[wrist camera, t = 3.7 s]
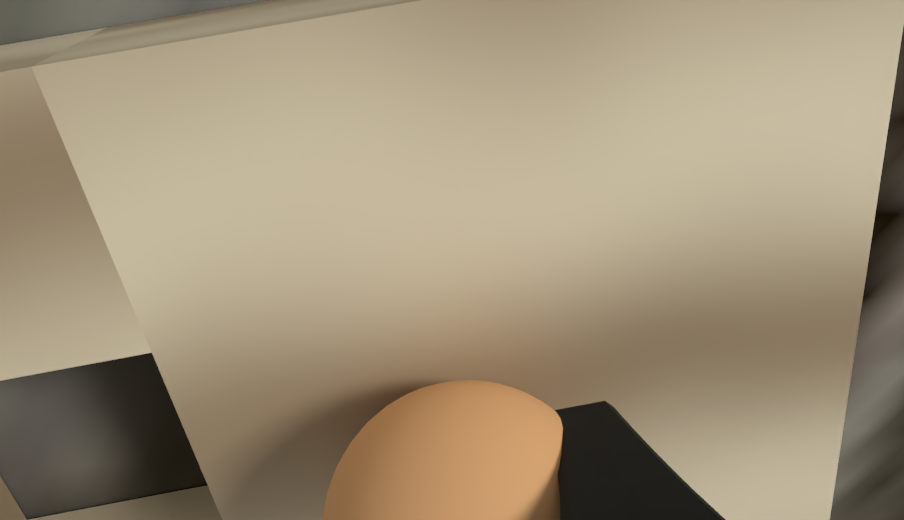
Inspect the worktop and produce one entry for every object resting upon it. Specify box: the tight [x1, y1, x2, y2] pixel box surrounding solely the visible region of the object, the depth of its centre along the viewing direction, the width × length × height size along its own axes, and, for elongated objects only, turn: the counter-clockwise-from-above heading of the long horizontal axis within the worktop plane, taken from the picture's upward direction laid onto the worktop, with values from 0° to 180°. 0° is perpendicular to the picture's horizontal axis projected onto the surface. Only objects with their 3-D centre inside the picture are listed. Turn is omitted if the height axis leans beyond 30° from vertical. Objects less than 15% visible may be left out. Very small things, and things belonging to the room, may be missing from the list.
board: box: [0, 0, 904, 520], centre depth 11 cm, size 12×20×2 cm, turn 98°
